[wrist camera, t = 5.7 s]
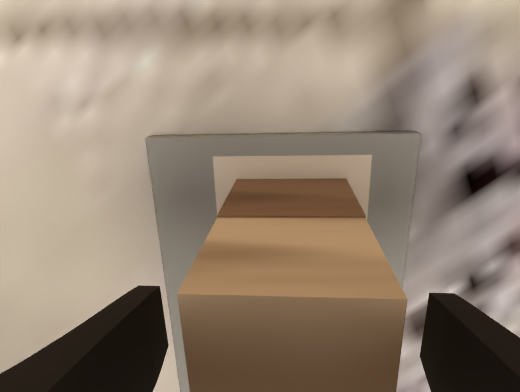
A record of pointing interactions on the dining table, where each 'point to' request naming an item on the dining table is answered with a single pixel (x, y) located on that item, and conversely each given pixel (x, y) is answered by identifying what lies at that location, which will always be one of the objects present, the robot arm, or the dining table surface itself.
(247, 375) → the maple block
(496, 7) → the dining table surface
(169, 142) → the board
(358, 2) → the dining table surface
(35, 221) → the dining table surface
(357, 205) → the walnut block
